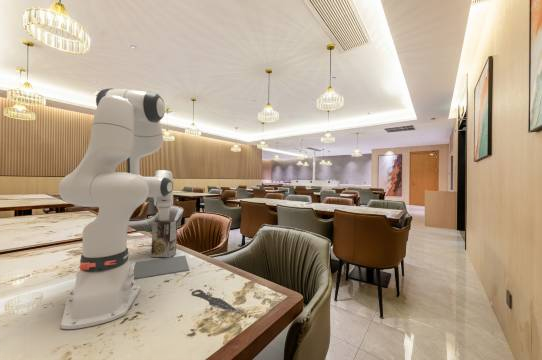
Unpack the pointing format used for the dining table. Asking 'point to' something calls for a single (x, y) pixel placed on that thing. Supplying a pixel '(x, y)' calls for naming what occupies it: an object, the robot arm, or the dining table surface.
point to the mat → (160, 267)
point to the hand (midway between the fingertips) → (163, 228)
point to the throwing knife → (214, 301)
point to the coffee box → (164, 238)
